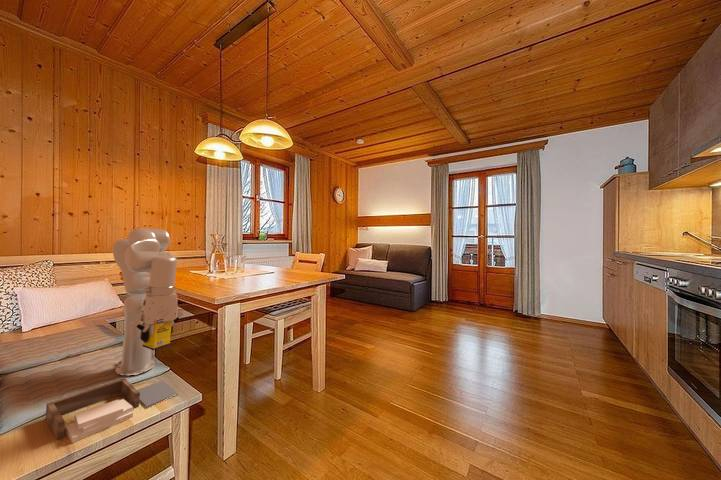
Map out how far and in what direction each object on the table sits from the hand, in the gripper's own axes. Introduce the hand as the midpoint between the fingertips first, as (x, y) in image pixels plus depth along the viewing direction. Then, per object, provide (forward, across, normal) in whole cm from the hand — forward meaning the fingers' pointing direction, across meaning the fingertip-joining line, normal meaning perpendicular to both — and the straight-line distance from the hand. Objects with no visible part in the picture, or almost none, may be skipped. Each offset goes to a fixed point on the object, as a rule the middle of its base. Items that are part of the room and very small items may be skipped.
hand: (156, 338), depth 100 cm
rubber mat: (+22, +1, 0) cm, 22 cm away
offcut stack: (+22, -15, -5) cm, 27 cm away
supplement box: (+3, 0, 0) cm, 3 cm away
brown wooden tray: (+22, -15, +2) cm, 26 cm away
